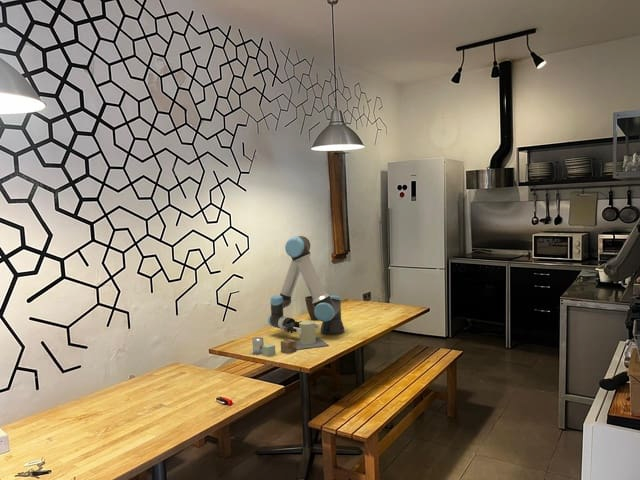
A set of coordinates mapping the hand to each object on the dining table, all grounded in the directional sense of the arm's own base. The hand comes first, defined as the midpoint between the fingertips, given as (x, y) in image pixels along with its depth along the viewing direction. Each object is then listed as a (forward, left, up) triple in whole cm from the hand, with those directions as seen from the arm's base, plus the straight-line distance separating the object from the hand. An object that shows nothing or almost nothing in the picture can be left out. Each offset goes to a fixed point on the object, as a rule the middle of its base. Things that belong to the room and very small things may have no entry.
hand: (310, 328), depth 270 cm
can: (0, -4, -9) cm, 10 cm away
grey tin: (+31, +3, -9) cm, 32 cm away
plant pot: (-22, -63, -9) cm, 67 cm away
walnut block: (+15, +8, -9) cm, 19 cm away
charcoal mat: (+1, -3, -9) cm, 10 cm away
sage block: (+26, +9, -9) cm, 29 cm away
